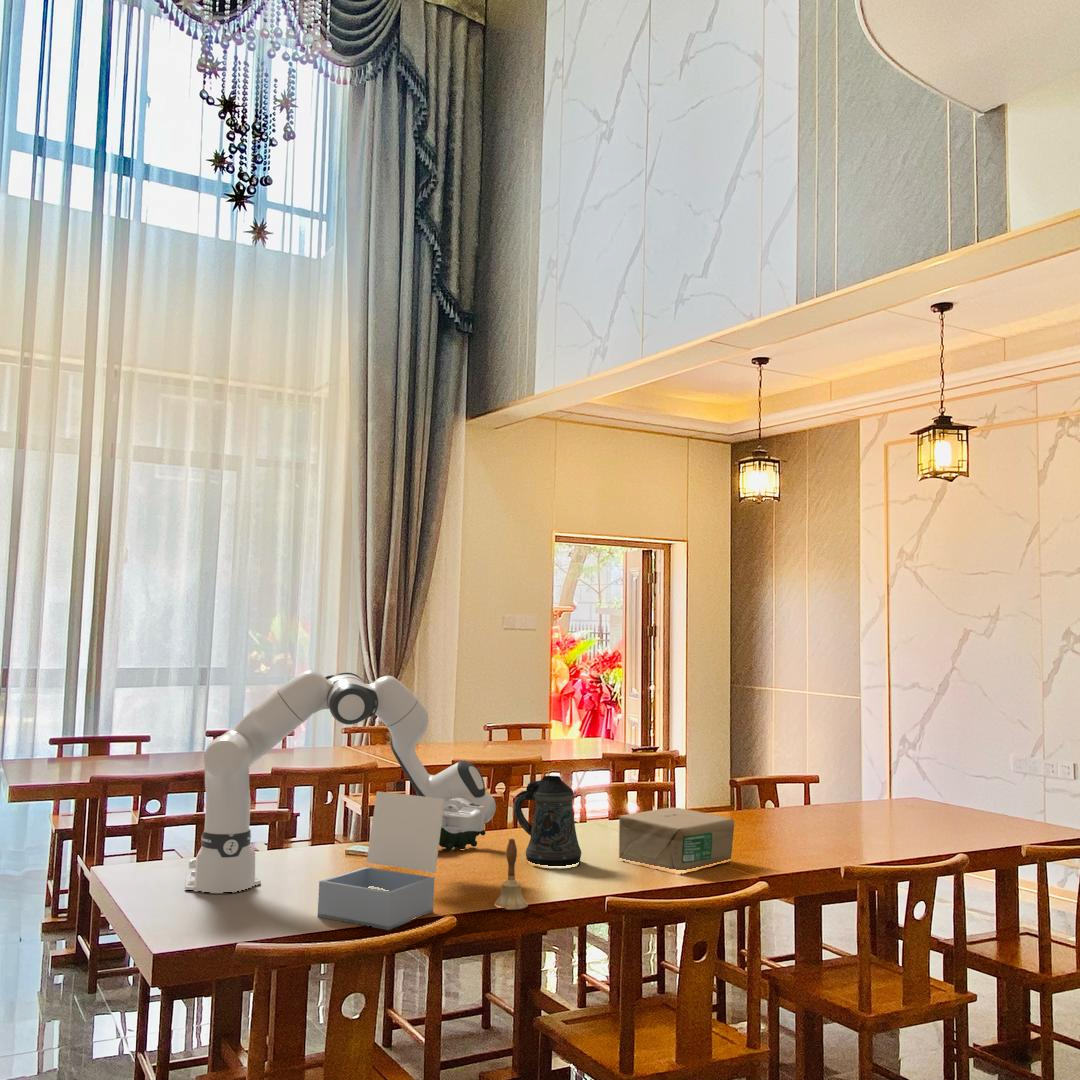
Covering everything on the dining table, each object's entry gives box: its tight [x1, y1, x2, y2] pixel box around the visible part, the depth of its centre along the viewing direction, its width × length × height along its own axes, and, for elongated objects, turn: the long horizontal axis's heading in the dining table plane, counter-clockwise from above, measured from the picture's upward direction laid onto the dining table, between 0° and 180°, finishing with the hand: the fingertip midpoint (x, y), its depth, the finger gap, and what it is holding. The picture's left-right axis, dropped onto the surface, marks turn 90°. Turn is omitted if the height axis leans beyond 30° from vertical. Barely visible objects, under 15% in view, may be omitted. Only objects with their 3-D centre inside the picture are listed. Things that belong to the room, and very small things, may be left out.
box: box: [317, 866, 435, 931], centre depth 237 cm, size 18×20×8 cm
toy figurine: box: [439, 822, 488, 851], centre depth 312 cm, size 9×19×25 cm
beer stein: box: [513, 775, 582, 866], centre depth 297 cm, size 16×19×25 cm
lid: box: [366, 791, 445, 874], centre depth 247 cm, size 17×20×1 cm
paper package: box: [618, 807, 735, 870], centre depth 304 cm, size 27×26×14 cm
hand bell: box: [494, 838, 529, 911], centre depth 248 cm, size 8×8×16 cm
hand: (427, 823), depth 256 cm, fingers closed
